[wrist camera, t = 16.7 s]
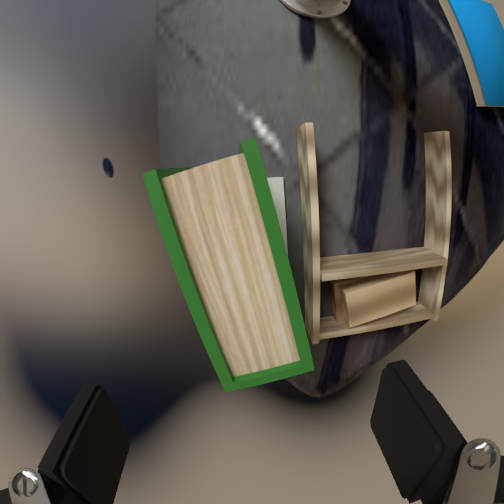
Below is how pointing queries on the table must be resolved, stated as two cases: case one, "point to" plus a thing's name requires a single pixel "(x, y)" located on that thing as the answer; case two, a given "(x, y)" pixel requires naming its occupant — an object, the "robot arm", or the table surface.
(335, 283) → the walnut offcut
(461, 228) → the table surface
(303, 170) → the rack
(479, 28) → the book
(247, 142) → the hardback book
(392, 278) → the oak offcut
